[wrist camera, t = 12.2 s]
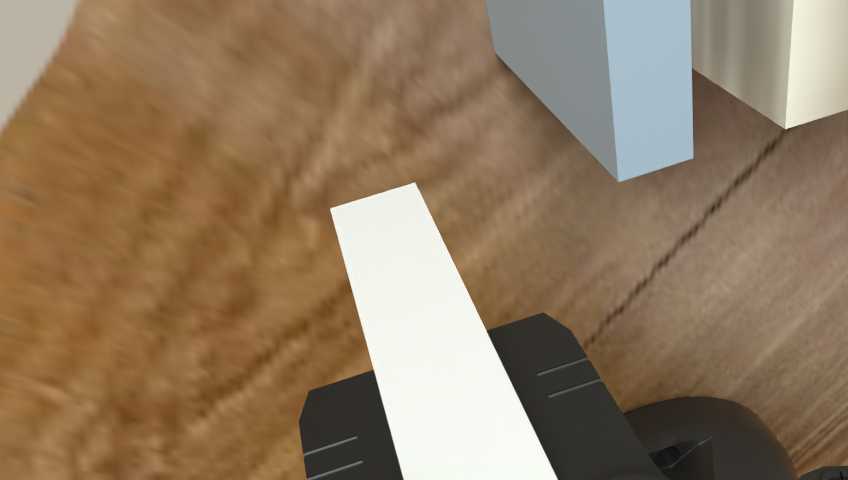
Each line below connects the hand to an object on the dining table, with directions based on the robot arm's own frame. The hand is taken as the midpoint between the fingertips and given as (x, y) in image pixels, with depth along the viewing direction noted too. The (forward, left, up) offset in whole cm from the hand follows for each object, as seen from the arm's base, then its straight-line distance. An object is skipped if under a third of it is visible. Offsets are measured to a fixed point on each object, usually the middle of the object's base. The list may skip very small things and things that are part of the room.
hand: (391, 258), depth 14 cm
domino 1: (+5, -5, -14) cm, 16 cm away
